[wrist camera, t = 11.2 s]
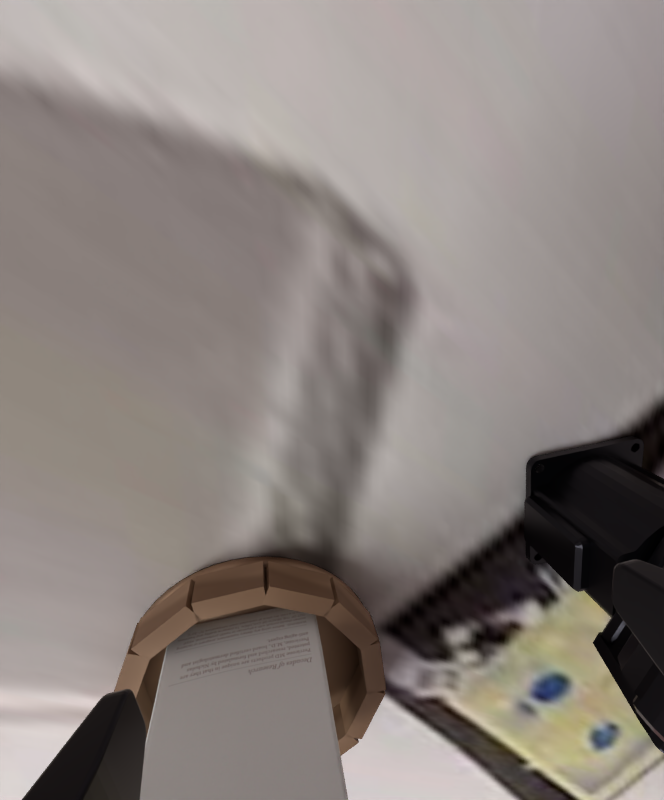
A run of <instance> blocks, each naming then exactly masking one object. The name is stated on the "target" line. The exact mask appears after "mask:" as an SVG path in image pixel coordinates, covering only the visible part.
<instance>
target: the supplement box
mask: <svg viewBox="0 0 664 800" xmlns="http://www.w3.org/2000/svg"><path fill="white" fill-rule="evenodd" d="M140 800H348V796H347V791H346V785H345V779H344V773H343V767H342V762H341V756H340V750H339V744H338V739H337V733H336V727H335V721H334V715H333V710H332V704H331V698H330V692H329V686H328V680H327V674H326V668H325V662H324V656H323V650H322V645H321V640H320V634H319V629H318V624H317V619H316V615H314V614H309V613H304V612H299V611H294V610H289V609H284V608H275V609H270V610H265V611H259V612H255V613H250V614H245V615H239V616H234V617H229V618H224V619H220V620H214V621H210V622H205V623H200V624H194V625H193V626H192V627H190V628H189V629H188V630H187V631H185V632H184V633H183V634H182V635H180V636H179V637H178V638H176V639H175V640H174V641H173V642H171V643H170V644H169V645H168V646H167V648H166V652H165V657H164V661H163V665H162V670H161V674H160V679H159V684H158V688H157V693H156V698H155V702H154V707H153V711H152V716H151V720H150V725H149V729H148V734H147V738H146V744H145V753H144V763H143V773H142V783H141V793H140Z"/></svg>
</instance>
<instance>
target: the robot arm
mask: <svg viewBox="0 0 664 800" xmlns="http://www.w3.org/2000/svg"><path fill="white" fill-rule="evenodd" d="M632 446H633V447H632ZM631 447H632V448H631ZM643 450H644V443H643V441H642V440H640V439H638V438H636V437H634V436H629V437H625V438H620V439H615V440H611V441H606V442H601V443H597V444H592V445H587V446H583V447H578V448H573V449H569V450H564V451H559V452H555V453H550V454H545V455H541V456H536V457H533V458H531V459H530V460H529V461H528V463H527V466H526V500H525V518H524V538H525V540H526V557H527V558H528V559H529V560H530V561H531V562H532V564H541V563H545V562H547V563H548V564H549V565H550V566H551V567H552V568H553V569H554V570H555V571H556V572H557V573H558V574H559V575H560V576H561V577H562V578H563V579H564V580H565V581H566V582H567V583H568V584H569V585H570V586H571V587H572V588H573V589H575V590H576V591H578V592H579V591H583V590H584V591H585V592H586V593H587V594H588V595H589V596H590V597H591V598H592V599H593V600H594V601H595V602H596V603H597V604H598V605H599V606H600V607H601V608H602V609H603V610H604V611H605V612H606V613H607V614H608V615H609V616H610V617H611V619H610V621H609V622H608V624H607V626H606V627H605V629H604V630H603V632H599V634H598V635H597V637H596V638H595V640H594V642H593V644H594V646H595V647H596V649H597V651H598V652H599V654H600V656H601V657H602V659H603V661H604V662H605V664H606V666H607V667H608V669H609V671H610V672H611V674H612V676H613V678H614V679H615V681H616V683H617V684H618V686H619V688H620V689H621V691H622V693H623V694H624V696H625V698H626V699H627V701H628V703H629V705H630V706H631V708H632V710H633V711H634V713H635V715H636V716H637V718H638V720H639V721H640V723H641V724H642V726H643V727H644V729H645V730H646V732H647V733H648V735H649V736H650V738H651V740H652V741H653V743H654V744H655V746H656V747H657V748H658V749H659V750H660V751H662V752H663V753H664V479H663V478H661V477H659V476H657V475H655V474H653V473H651V472H649V471H647V470H646V469H644V468H642V460H643ZM539 464H540V465H539ZM537 465H539V467H538V468H537V469H535V468H536V466H537ZM537 553H538V554H537ZM536 554H537V555H536ZM145 744H146V725H145V721H144V718H143V716H142V713H141V710H140V708H139V705H138V703H137V700H136V698H135V695H134V693H133V691H132V690H130V689H124V690H120V691H116V692H112V693H109V694H106V695H105V696H103V697H102V698H101V699H100V701H99V702H98V703H97V704H96V706H95V707H94V708H93V709H92V711H91V712H90V713H89V715H88V716H87V717H86V718H85V720H84V721H83V722H82V723H81V725H80V726H79V727H78V729H77V730H76V731H75V732H74V734H73V735H72V736H71V738H70V739H69V740H68V741H67V743H66V744H65V745H64V746H63V748H62V749H61V750H60V752H59V753H58V754H57V755H56V757H55V758H54V759H53V761H52V762H51V763H50V764H49V766H48V767H47V768H46V769H45V771H44V772H43V773H42V775H41V776H40V777H39V778H38V780H37V781H36V782H35V784H34V785H33V786H32V787H31V789H30V790H29V791H28V792H27V794H26V795H25V796H24V798H23V799H22V800H140V793H141V783H142V773H143V763H144V753H145Z"/></svg>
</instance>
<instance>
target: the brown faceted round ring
mask: <svg viewBox="0 0 664 800" xmlns="http://www.w3.org/2000/svg"><path fill="white" fill-rule="evenodd" d="M275 608H284V609H289V610H294V611H299V612H304V613H309V614H314V615H316V619H317V624H318V629H319V634H320V640H321V645H322V650H323V656H324V662H325V668H326V674H327V680H328V686H329V692H330V698H331V704H332V710H333V715H334V721H335V727H336V733H337V739H338V744H339V750H340V756H341V755H342V754H344V753H345V752H347V751H348V750H349V749H351V748H352V747H353V746H355V745H356V744H357V743H359V742H358V739H362V737H363V736H364V734H365V732H366V730H367V728H368V726H369V724H370V722H371V720H372V718H373V716H374V714H375V713H376V711H377V709H378V707H379V705H380V703H381V701H382V699H383V697H384V695H385V691H384V690H386V685H385V677H384V670H383V662H382V655H381V647H380V642H379V639H378V636H377V633H376V630H375V627H374V624H373V621H372V618H371V615H370V614H369V611H367V610H366V609H365V608H364V606H363V605H362V603H361V602H360V600H359V598H358V597H357V595H356V594H355V593H354V592H353V591H352V590H351V589H350V587H349V586H347V585H346V584H345V583H344V582H343V581H341V580H340V579H339V578H338V577H336V576H334V575H333V574H331V573H329V572H328V571H326V570H324V569H322V568H319V567H317V566H315V565H313V564H309V563H306V562H302V561H299V560H294V559H288V558H282V557H248V558H242V559H236V560H230V561H227V562H223V563H219V564H216V565H213V566H210V567H208V568H205V569H203V570H200V571H198V572H196V573H194V574H192V575H190V576H188V577H187V578H185V579H183V580H181V581H180V582H178V583H177V584H175V585H174V586H173V587H171V588H170V589H168V590H167V591H166V592H165V593H164V594H163V595H162V596H160V597H159V598H158V599H157V600H156V601H155V602H154V603H153V605H152V606H151V607H150V608H149V609H148V610H147V612H146V613H145V614H144V616H143V617H142V618H141V619H140V622H139V623H137V626H136V628H135V631H134V634H133V637H132V639H131V642H130V646H129V649H128V652H127V654H126V657H125V660H124V663H123V666H122V669H121V672H120V675H119V678H118V681H117V684H116V687H115V690H114V692H116V691H120V690H124V689H130V690H132V691H133V693H134V695H135V698H136V700H137V703H138V705H139V708H140V710H141V713H142V716H143V718H144V721H145V725H146V738H147V734H148V729H149V725H150V720H151V716H152V711H153V707H154V702H155V698H156V693H157V688H158V684H159V679H160V674H161V670H162V665H163V661H164V657H165V652H166V648H167V646H168V645H169V644H170V643H171V642H173V641H174V640H175V639H176V638H178V637H179V636H180V635H182V634H183V633H184V632H185V631H187V630H188V629H189V628H190V627H192V626H193V625H194V624H200V623H205V622H210V621H214V620H220V619H224V618H229V617H234V616H239V615H245V614H250V613H255V612H259V611H265V610H270V609H275Z"/></svg>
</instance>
